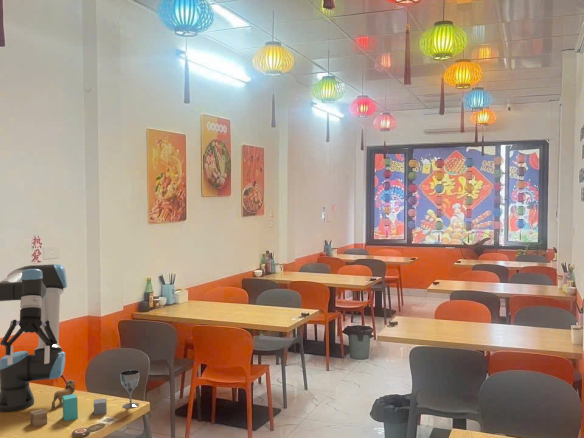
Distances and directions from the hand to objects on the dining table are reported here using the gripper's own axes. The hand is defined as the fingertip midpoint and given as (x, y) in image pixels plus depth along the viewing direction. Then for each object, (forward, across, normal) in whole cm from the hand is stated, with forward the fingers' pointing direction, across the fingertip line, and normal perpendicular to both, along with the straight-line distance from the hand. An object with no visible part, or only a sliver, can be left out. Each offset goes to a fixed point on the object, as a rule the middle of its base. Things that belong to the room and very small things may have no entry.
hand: (28, 364), depth 204 cm
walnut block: (+21, +14, +23) cm, 34 cm away
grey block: (+19, +37, +14) cm, 44 cm away
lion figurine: (+13, +31, +36) cm, 49 cm away
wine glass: (+18, +49, +10) cm, 53 cm away
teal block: (+20, +26, +18) cm, 37 cm away
